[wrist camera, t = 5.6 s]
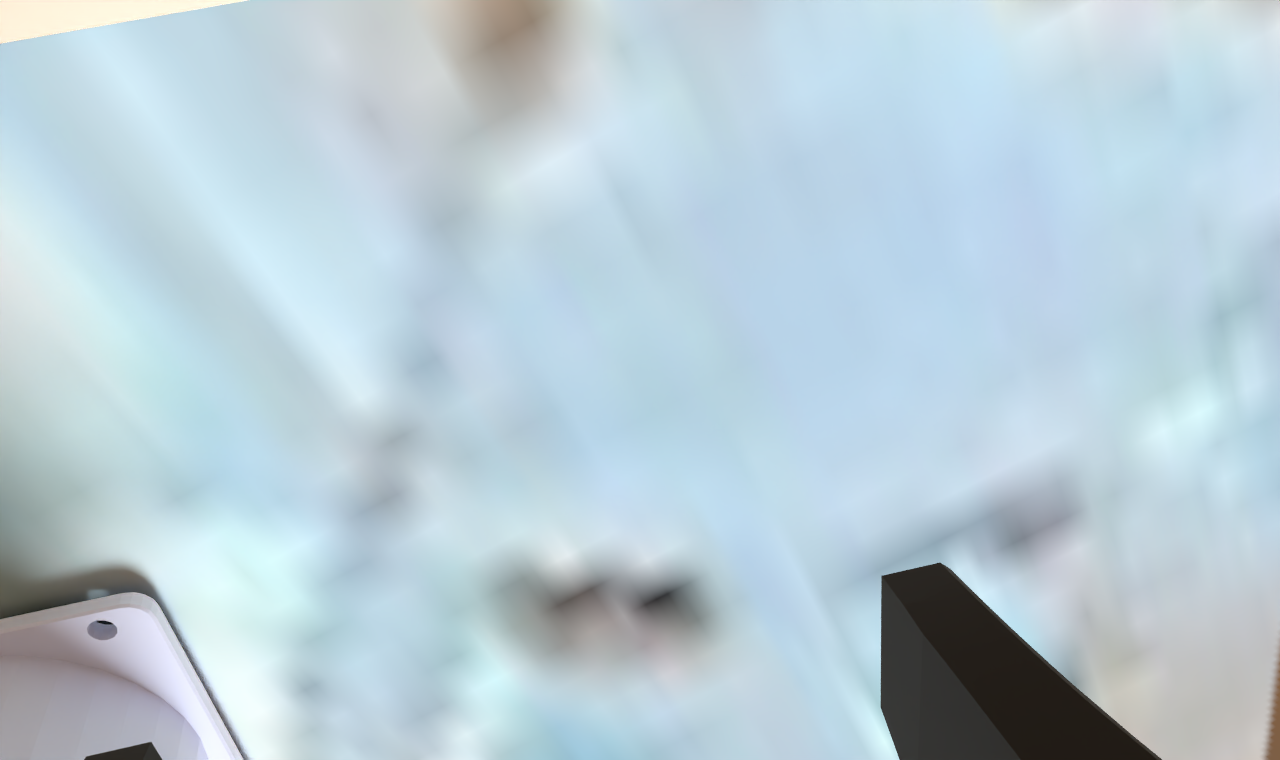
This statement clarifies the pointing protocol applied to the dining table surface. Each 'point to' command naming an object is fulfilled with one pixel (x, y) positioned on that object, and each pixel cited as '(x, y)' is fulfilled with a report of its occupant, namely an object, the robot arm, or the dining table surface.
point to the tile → (83, 14)
